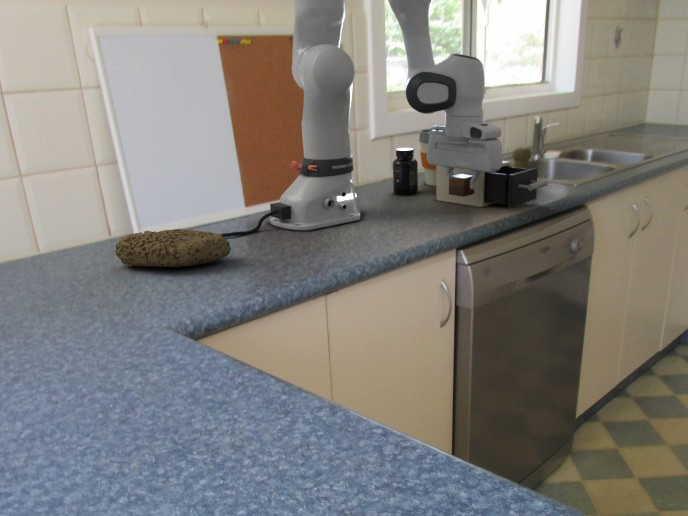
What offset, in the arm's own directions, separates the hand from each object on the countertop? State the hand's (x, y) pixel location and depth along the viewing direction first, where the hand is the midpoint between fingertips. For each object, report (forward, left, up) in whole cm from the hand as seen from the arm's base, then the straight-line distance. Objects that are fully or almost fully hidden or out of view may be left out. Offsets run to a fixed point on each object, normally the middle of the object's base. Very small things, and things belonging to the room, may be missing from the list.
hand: (461, 187), depth 160 cm
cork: (+33, +4, -6) cm, 34 cm away
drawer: (+13, -5, -5) cm, 15 cm away
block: (0, 0, -2) cm, 2 cm away
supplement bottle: (+9, +26, -6) cm, 28 cm away
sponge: (-66, +19, -6) cm, 69 cm away
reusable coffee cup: (+26, +27, -6) cm, 38 cm away
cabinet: (+13, +6, -6) cm, 15 cm away
